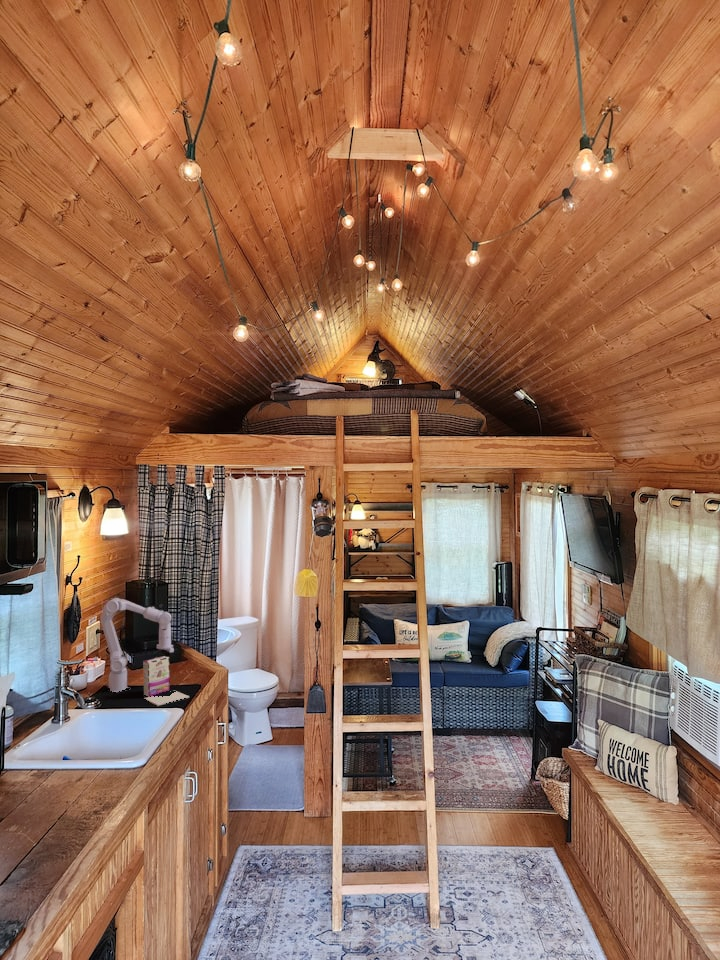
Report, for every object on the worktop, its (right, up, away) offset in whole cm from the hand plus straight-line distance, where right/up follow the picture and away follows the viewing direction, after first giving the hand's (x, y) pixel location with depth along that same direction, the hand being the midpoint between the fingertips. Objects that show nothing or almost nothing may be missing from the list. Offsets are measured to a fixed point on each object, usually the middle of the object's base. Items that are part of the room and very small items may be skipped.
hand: (165, 665), depth 283 cm
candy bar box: (+1, -9, -14) cm, 17 cm away
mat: (+8, -8, -21) cm, 24 cm away
